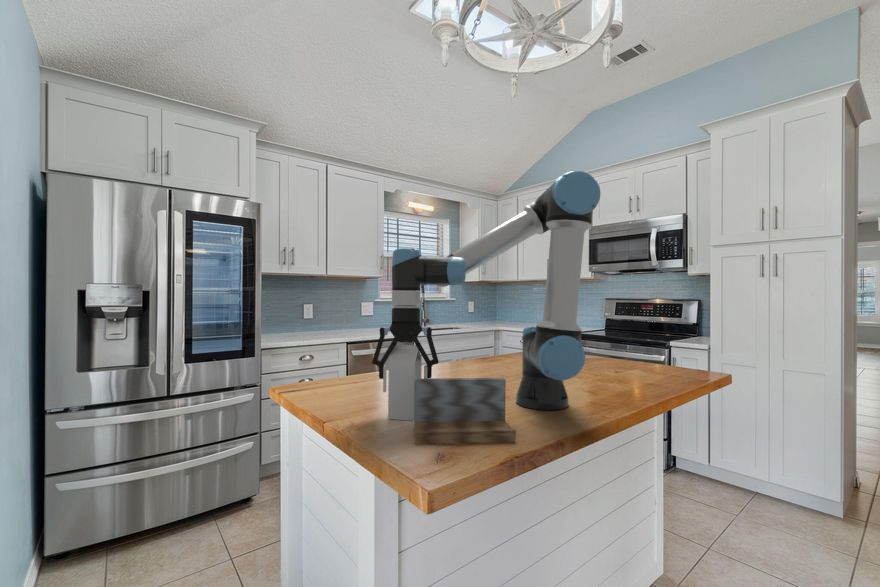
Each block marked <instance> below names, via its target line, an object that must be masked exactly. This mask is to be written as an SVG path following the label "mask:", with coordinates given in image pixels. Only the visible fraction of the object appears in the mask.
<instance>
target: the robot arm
mask: <svg viewBox="0 0 880 587" xmlns="http://www.w3.org/2000/svg"><path fill="white" fill-rule="evenodd" d="M600 200H601V188H600V185H599V182H598V181H597V180H596V179H595V178H594V177H593V176H592V175H591V174H589V173H587V172H586V171H582V170H570V171H568V172H566V173H564V174H561V175H560V176H559V177H557V178H556V180H555V181H554V182H553V183H552V184H551V185H550V186H549V187H548V188H547V189H546V190H545V191H544V192H543V193H541V194H540V195H539V196H538V197H537V198H536V199H535V200H534V201H532V202H530V203H529V204H527V205H526V206H524V209H523V211H521V212H520V213H519V214H517V215H515V216H513V217H511V218H510V219H508V220H507V221H505V222H503V223H502V224H500V225H498V226H497V227H495V228H493V229H491V230H490V231H488V232H486V233H484V234H483V235H481V236H479V237H478V238H476V239H475V240H473V241H470V242H469V243H467V244H466V245H464V246H463V247H460V248H459V249H457V250H455V251H454V252H452V253H450V254H448V255H447V256H422V253H421V250H420V248H419V249H418V248H412V247H411V248H410V247H407V248H406V247H405V248H402V247H401V248H396V249H395V250H393V252H392V264H391V287H392V288H391V305H392V306H393V307H392V309H391V325H390V326H389V327H388V326H386V327H384V326H381V327H380V328H379V339H378V342H377V345H376V347H375V351H374V353H373V354H374V355H373V358H372V362H371V364H372V365H375V366H377V367H378V377H379V378H378V379H379V380H383V382H382V384H383V385H382V386H383V387H382V392H383V393H387V376H388V375H387V373H388V372H387V369H388V367H387V365H385V364H386V363H387V361H388V360H389V358H390V355H391V352H392V350H393V349H394V347H395V345H396V344H397V345H398V343H413V342H414V345H416V346H417V348H418V350H419V352H420V355H421V358H423V360H424V362H425V363H426V365H423V379H432V375H433V374H432V372H433V371H432V367H433V366H434V365H438V364H439V363H440V362H439V358H438V354H437V352H436V346H435V344H434V341H433V338H432V333H433V330H432V328H431V326H427V327H424V326H423V327H422V325H421V309H420V308H419V306H421V285H423V286H438V287H442V288H443V287H447V286H451V287H452V286H462V285H464V284H465V282H466V277H467V276H466V275H467V274H469V273H471V272H472V271H475V269H478V268H479V267H481V266H483V265H485V264H486V263H488V262H489V261H491V260H493V259H495V258H497V257H498V256H500V255H502V254H504V253H505V252H507V251H508V250H511V249H512V248H513V247H515V246H517V245H519V244H520V243H523V242H524V241H525V240H527V239H529V238H531V237H532V236H535V235H536V234H538V235H543V234H545V233H546V232H548V231H550V238H549V239H550V240H549V249H548V250H549V251H548V257H547V258H548V260H547V269H546V270H547V271H546V280H545V293H544V303H543V312H542V313H543V314H542V315H543V316H542V320H540V321H539V322H538V323H537V324H536V326H526V327H524V328H523V330H522V336H521V340H522V352H521V353H522V354H521V355H522V358H521V360H522V363H521V364H522V366H521V367H522V368H521V369H522V371H521V372H522V375H521V380H520V383H519V386H518V388H517V392H516V395H515V398H516V399H515V402H516V404H518V405H519V406H521V407H525V408H528V409H533V410H543V411H556V410H557V411H558V410H563V409H566V408H568V407H569V396H568V392H567V389H566V386H565V382H564V381H567V380H570V379H572V378H574V377H576V376H577V375H578V374H579V373H580V372H581V371H582V369H583V368H584V366H585V362H586V352H585V349H584V347H583V345H582V342H581V340H582V328H581V326H579V324H578V323H577V318H578V308H579V307H578V305H579V298H580V297H579V296H580V286H581V285H580V284H581V274H582V264H583V254H584V253H583V252H584V240H585V233H586V231H588V230H589V229H590V228H591V227H592V223H593V221H592V220H593V214H594V213H593V210H595V209H596V208H597V206H598V204H599V202H600ZM389 332H390V333H391V334H392V335H393V339H392V341H391V342H390V344H389V346H388V347H387V349H386V351H385V352H384V354H383V355H382V358H381V359H379V357H380V353H381V350H382V347H383V344H384V341H385V337H386V336H387V335H388V334H389ZM421 332H422V333H423V335H424V336H426V340H427V344H428V347H429V350H430V353H431V357H432V359H430V358H429V356H428V354H427V353H426V351H425V349H424V347H423V346H422V343H421V342H420V340H419V339H418V337H419V335H420V334H421Z"/></svg>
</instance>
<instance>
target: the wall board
mask: <svg viewBox="0 0 880 587" xmlns="http://www.w3.org/2000/svg"><path fill="white" fill-rule="evenodd" d="M506 385H507V382H506V378H504V377H461V378H460V377H457V378H456V377H455V378H453V377H451V378H447V377H446V378H443V377H440V378H427V379H424V378H421V379H414V421H413V432H414V441H415V446H427V445H428V446H429V445H431V446H432V445H433V446H435V445H462V444H463V445H464V444H465V445H466V444H467V445H469V444H470V445H471V444H472V445H473V444H499V443H501V444H502V443H503V444H504V443H506V444H507V443H517V441H516V440H517V437H516V436H517V435H516V434H517V431H516V429H515V428H512V427H511V425H510V424H509V423H508V422H507V421H506V393H507V392H506V390H507V389H506V388H507V387H506Z"/></svg>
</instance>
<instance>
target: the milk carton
mask: <svg viewBox="0 0 880 587" xmlns="http://www.w3.org/2000/svg"><path fill="white" fill-rule="evenodd" d="M422 358H423V357H422V355H421V353H420V351H419V350H418V348H417V346H416V345H415V344H398V343H397V344H396V345H395V347H394V349H393V350H392V352H391V354H390V355H389V357H388V375H387V376H388V380H387V381H388V389H387V391H388V392H387V393H388V394H387V402H388V404H387V409H388V410H387V419H388V420H398V421H399V420H401V421H402V420H403V421H413V422H414V379H423V378H422V376H423V375H422V371H423V370H422V368H423V367H422V365H423V364H422V363H423V362H422V360H423V359H422Z"/></svg>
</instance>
